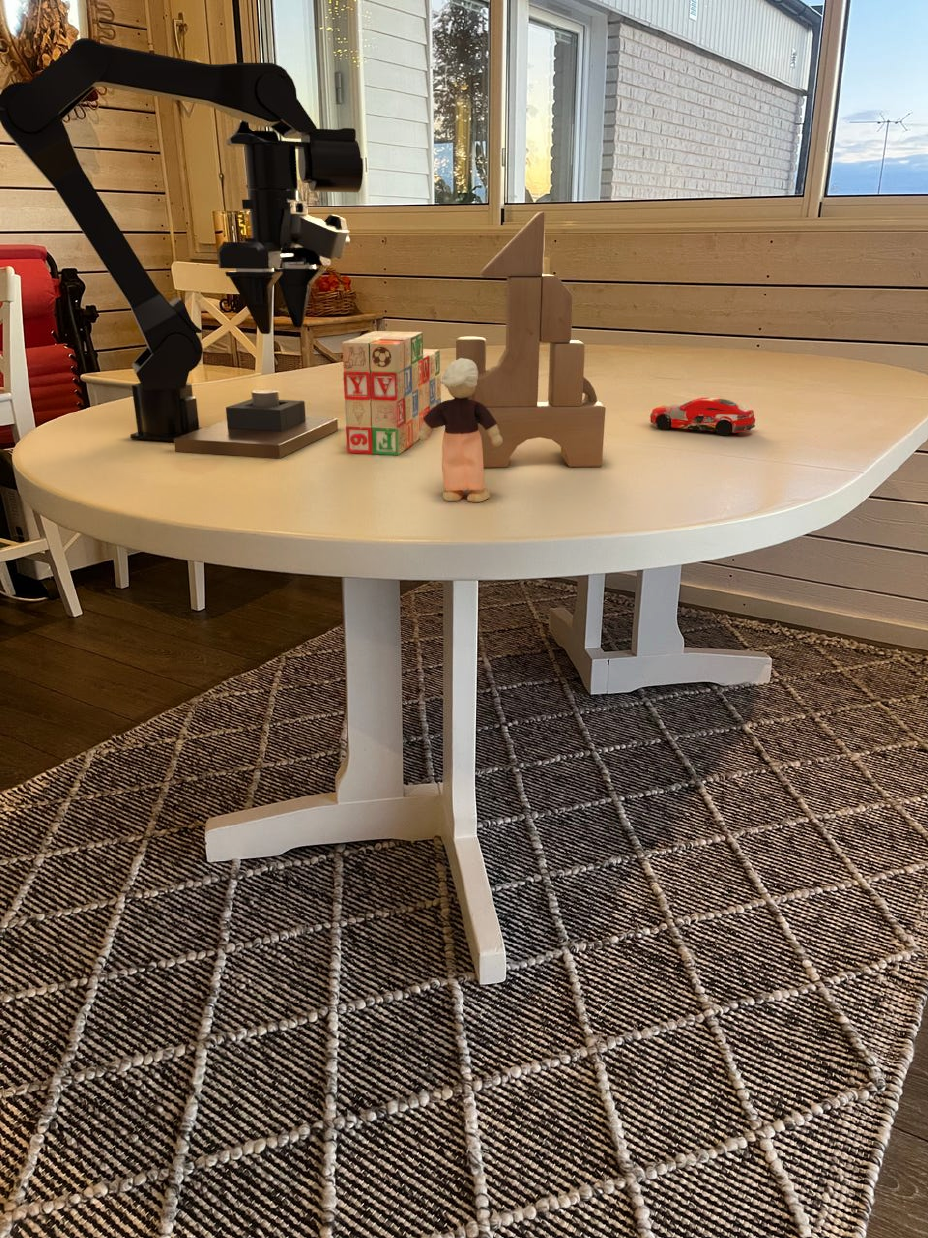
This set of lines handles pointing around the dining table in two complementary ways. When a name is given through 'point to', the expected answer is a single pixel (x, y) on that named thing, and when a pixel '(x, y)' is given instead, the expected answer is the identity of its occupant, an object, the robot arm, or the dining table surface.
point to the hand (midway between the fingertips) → (282, 330)
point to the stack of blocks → (388, 390)
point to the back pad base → (256, 434)
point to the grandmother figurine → (462, 433)
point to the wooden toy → (535, 362)
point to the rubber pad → (266, 416)
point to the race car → (705, 416)
